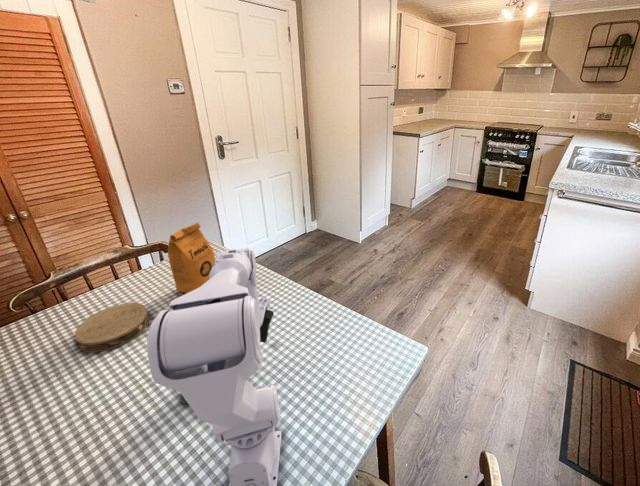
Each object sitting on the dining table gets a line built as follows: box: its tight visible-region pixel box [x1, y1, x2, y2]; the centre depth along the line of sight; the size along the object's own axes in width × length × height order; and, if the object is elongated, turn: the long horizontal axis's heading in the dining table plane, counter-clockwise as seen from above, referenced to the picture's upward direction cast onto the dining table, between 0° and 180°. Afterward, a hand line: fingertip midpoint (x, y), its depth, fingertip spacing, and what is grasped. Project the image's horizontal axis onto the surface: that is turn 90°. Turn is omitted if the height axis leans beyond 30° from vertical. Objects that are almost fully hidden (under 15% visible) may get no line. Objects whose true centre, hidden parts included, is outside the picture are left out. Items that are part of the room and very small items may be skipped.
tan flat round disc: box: [74, 302, 150, 353], centre depth 85 cm, size 16×16×3 cm
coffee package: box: [167, 222, 216, 294], centre depth 101 cm, size 10×12×22 cm
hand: (252, 354), depth 65 cm, fingers open, 7 cm apart
